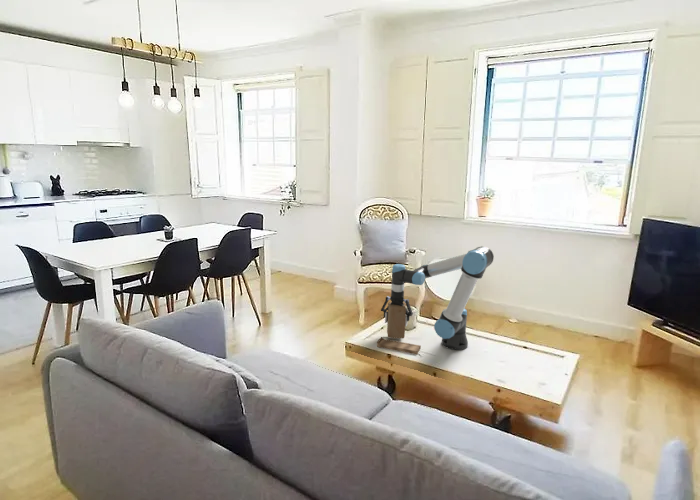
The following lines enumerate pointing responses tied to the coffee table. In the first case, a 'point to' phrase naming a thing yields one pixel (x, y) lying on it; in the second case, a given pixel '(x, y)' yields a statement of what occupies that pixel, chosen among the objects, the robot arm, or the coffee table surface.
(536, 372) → the coffee table surface
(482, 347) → the coffee table surface
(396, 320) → the wooden block
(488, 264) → the robot arm
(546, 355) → the coffee table surface
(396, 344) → the plank
